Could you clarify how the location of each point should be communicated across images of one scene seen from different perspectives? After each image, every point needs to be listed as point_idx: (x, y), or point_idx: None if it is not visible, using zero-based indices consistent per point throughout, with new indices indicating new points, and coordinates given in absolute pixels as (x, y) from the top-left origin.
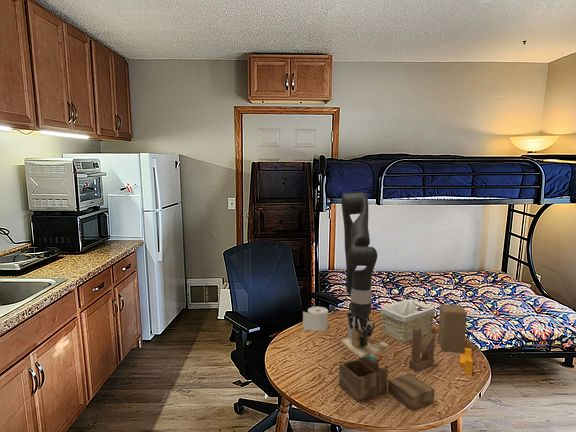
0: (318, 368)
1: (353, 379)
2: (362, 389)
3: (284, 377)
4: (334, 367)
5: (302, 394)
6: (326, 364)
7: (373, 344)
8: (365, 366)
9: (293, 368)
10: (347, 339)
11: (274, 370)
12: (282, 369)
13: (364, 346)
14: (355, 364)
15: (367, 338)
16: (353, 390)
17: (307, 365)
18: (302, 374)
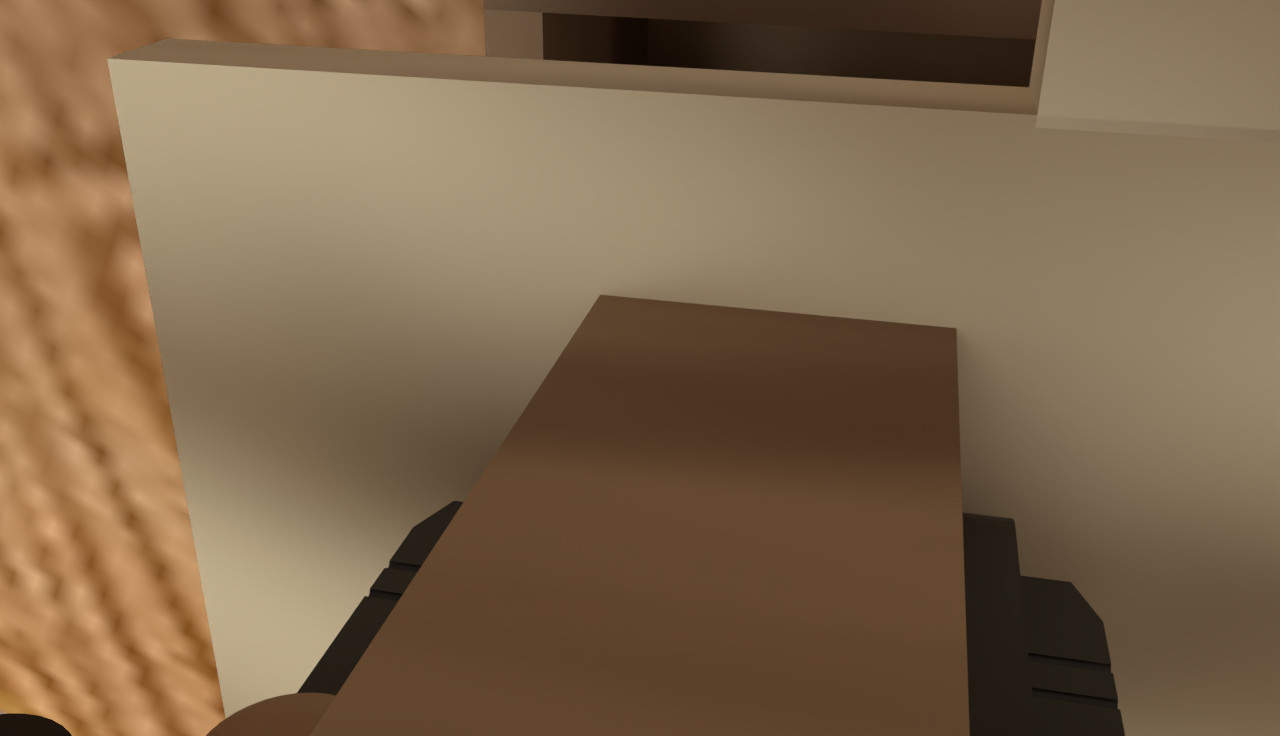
0: (123, 241)
1: None
2: None
3: (195, 686)
4: (162, 8)
5: None
6: (51, 66)
7: (1065, 58)
8: (841, 28)
9: (42, 506)
10: (253, 583)
11: (33, 687)
12: (33, 613)
13: (963, 498)
14: (567, 58)
15: (954, 503)
16: None
17: (15, 322)
18: None
